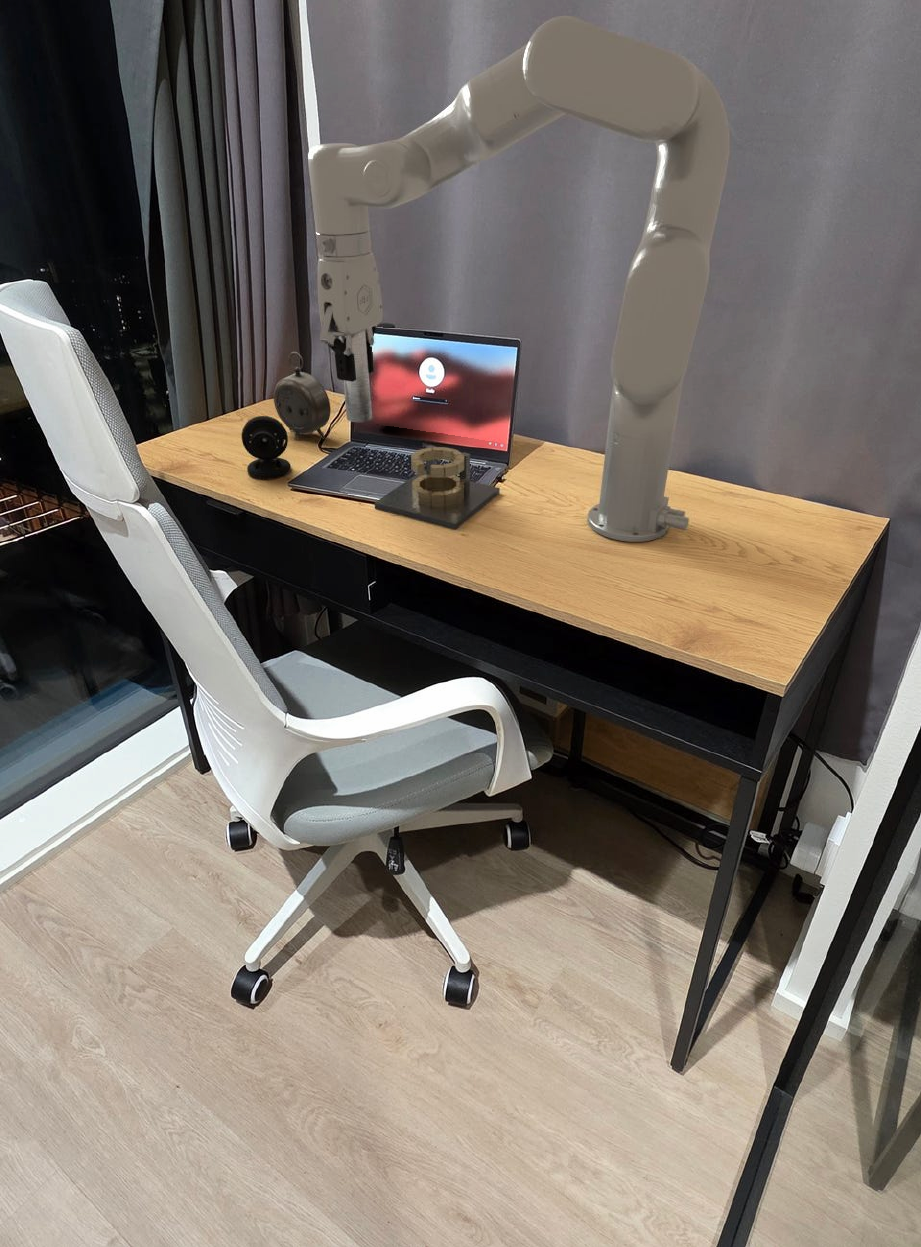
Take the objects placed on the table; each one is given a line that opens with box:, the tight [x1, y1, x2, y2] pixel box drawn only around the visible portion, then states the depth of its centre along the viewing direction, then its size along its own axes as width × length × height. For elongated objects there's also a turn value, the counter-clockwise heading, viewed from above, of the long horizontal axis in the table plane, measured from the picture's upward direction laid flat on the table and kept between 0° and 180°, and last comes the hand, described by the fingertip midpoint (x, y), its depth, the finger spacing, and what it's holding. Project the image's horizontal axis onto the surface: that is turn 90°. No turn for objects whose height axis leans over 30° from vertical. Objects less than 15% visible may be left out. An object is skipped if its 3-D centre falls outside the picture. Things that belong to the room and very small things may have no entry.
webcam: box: [241, 415, 292, 480], centre depth 137 cm, size 8×8×10 cm
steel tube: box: [338, 329, 373, 423], centre depth 121 cm, size 4×4×18 cm
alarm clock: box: [273, 351, 332, 441], centre depth 149 cm, size 11×5×16 cm, turn 58°
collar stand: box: [374, 444, 501, 531], centre depth 128 cm, size 15×15×8 cm
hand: (355, 374), depth 122 cm, fingers closed on steel tube, 4 cm apart
